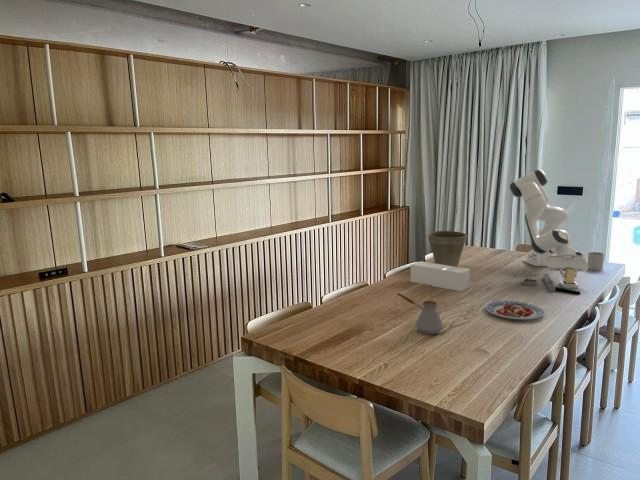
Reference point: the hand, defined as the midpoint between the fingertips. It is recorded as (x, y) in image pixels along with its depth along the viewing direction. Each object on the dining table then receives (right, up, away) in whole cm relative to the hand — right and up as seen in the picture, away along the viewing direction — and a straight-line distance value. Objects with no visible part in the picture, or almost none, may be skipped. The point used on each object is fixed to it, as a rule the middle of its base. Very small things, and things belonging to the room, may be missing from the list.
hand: (569, 277), depth 261 cm
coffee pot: (-96, -19, -55) cm, 112 cm away
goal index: (-19, -5, +8) cm, 21 cm away
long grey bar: (-9, -5, +5) cm, 11 cm away
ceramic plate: (-47, -15, -38) cm, 62 cm away
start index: (0, -5, +2) cm, 5 cm away
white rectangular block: (-70, -6, +12) cm, 71 cm away
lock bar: (0, -5, +2) cm, 5 cm away
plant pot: (-54, +3, +55) cm, 77 cm away
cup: (+35, +2, +36) cm, 51 cm away
